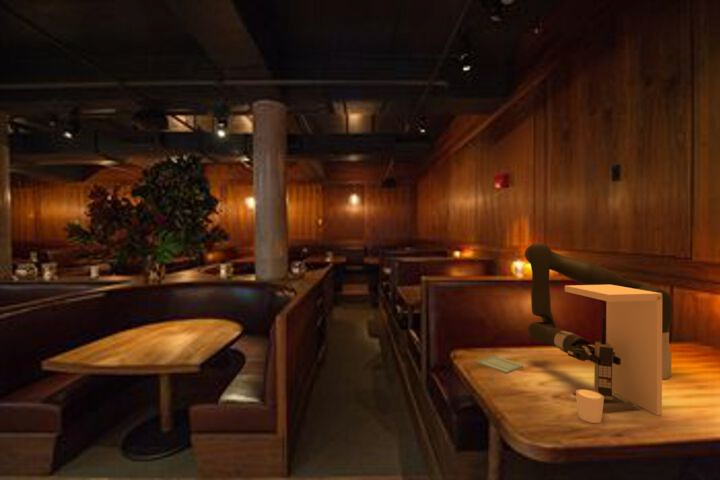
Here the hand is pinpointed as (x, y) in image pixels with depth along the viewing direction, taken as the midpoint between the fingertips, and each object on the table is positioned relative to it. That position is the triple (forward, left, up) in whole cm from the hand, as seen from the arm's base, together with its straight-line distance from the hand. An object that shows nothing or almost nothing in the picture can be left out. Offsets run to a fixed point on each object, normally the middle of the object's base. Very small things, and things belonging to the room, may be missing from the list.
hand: (610, 362), depth 104 cm
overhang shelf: (-2, -2, -14) cm, 14 cm away
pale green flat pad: (+17, -36, -14) cm, 42 cm away
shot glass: (+12, +6, -14) cm, 19 cm away
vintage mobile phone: (0, -3, -12) cm, 12 cm away
